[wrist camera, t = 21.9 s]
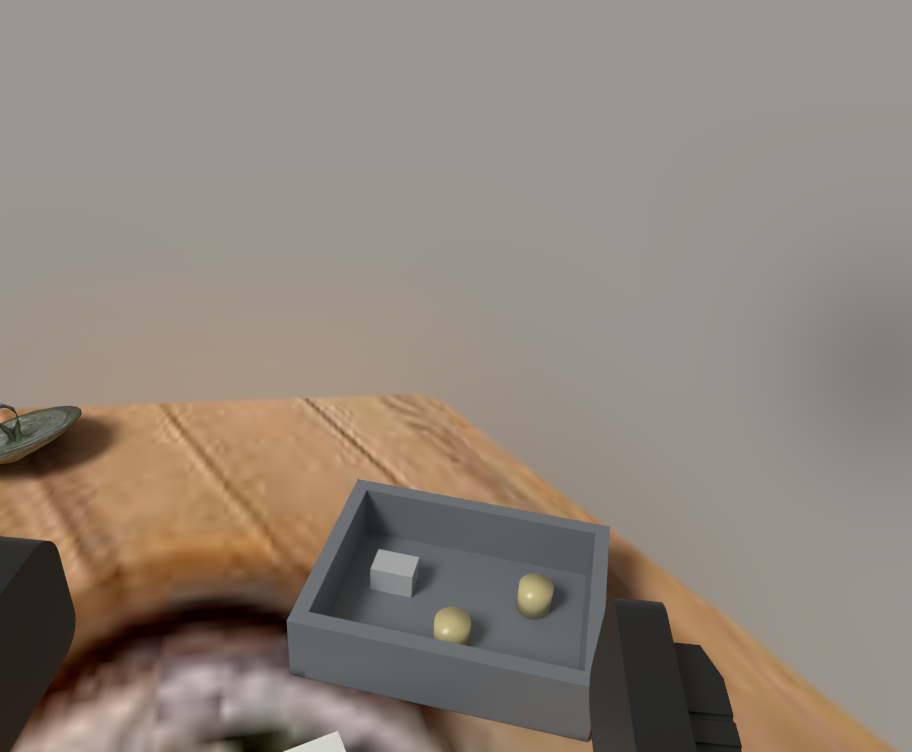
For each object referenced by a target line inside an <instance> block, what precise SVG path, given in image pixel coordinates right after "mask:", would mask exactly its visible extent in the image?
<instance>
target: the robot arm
mask: <svg viewBox="0 0 912 752" xmlns="http://www.w3.org/2000/svg"><path fill="white" fill-rule="evenodd" d="M75 620H76V619H75V611H74V607H73V603H72V599H71V596H70V592H69V588H68V585H67V581H66V577H65V574H64V570H63V566H62V563H61V559H60V555H59V552H58V549H57V547H56V545H55V544H54V543H53V542H51V541H44V540H34V539H23V538H13V537H3V536H0V752H10V750H11V748H12V747H13V745H14V743H15V741H16V740H17V738H18V736H19V735H20V733H21V731H22V730H23V728H24V726H25V725H26V723H27V721H28V720H29V718H30V716H31V715H32V713H33V711H34V709H35V708H36V706H37V704H38V703H39V701H40V699H41V698H42V696H43V694H44V693H45V691H46V689H47V688H48V686H49V684H50V683H51V681H52V679H53V678H54V676H55V674H56V672H57V671H58V669H59V667H60V666H61V664H62V662H63V661H64V659H65V657H66V655H67V653H68V651H69V649H70V646H71V643H72V640H73V636H74V631H75ZM589 711H590V722H591V733H592V744H593V752H741V747H742V745H741V742H740V738H739V734H738V730H737V727H736V723H734V722H733V712H732V708H731V705H730V701H729V697H728V693H727V690H726V686H725V682H724V679H723V677H722V676H721V674H720V673H719V671H718V670H717V669H716V667H715V666H714V664H713V663H712V662H711V660H710V659H709V657H708V656H707V654H706V653H705V652H704V650H703V649H702V647H701V646H700V645H693V644H683V643H673V638H672V634H671V629H670V624H669V620H668V615H667V611H666V608H665V606H664V604H663V603H662V602H653V601H643V600H632V599H622V598H612V597H610V598H609V600H608V602H607V605H606V608H605V612H604V617H603V621H602V625H601V629H600V633H599V637H598V641H597V645H596V649H595V653H594V658H593V662H592V666H591V672H590V683H589Z"/></svg>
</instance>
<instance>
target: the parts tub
mask: <svg viewBox="0 0 912 752" xmlns="http://www.w3.org/2000/svg"><path fill="white" fill-rule="evenodd" d="M609 531H610V527H608V526H603V525H598V524H592V523H587V522H582V521H577V520H571V519H566V518H561V517H555V516H550V515H545V514H540V513H534V512H529V511H524V510H518V509H513V508H508V507H502V506H497V505H492V504H487V503H481V502H476V501H471V500H465V499H460V498H455V497H449V496H444V495H439V494H434V493H428V492H423V491H418V490H412V489H407V488H402V487H397V486H391V485H386V484H381V483H375V482H370V481H365V480H359V479H358V480H357V482H356V484H355V486H354V488H353V490H352V492H351V494H350V496H349V498H348V500H347V502H346V504H345V506H344V508H343V510H342V512H341V514H340V516H339V518H338V520H337V522H336V524H335V526H334V528H333V530H332V532H331V534H330V536H329V538H328V540H327V542H326V544H325V546H324V548H323V550H322V552H321V554H320V556H319V558H318V560H317V562H316V564H315V566H314V568H313V570H312V572H311V574H310V576H309V578H308V580H307V582H306V584H305V586H304V588H303V590H302V592H301V594H300V596H299V598H298V600H297V602H296V604H295V606H294V608H293V610H292V612H291V614H290V616H289V618H288V620H287V630H288V645H289V660H290V674H291V675H295V676H300V677H304V678H309V679H313V680H317V681H322V682H326V683H331V684H335V685H339V686H344V687H348V688H352V689H357V690H361V691H366V692H370V693H374V694H379V695H383V696H388V697H392V698H396V699H401V700H405V701H410V702H414V703H418V704H423V705H427V706H432V707H436V708H440V709H445V710H449V711H454V712H458V713H462V714H467V715H471V716H476V717H480V718H484V719H489V720H493V721H498V722H502V723H506V724H511V725H515V726H519V727H524V728H528V729H533V730H537V731H541V732H546V733H550V734H555V735H559V736H563V737H568V738H572V739H577V740H581V741H585V742H588V738H589V734H590V730H591V722H590V711H589V683H590V672H591V666H592V662H593V658H594V653H595V649H596V645H597V641H598V637H599V633H600V629H601V625H602V621H603V617H604V612H605V606H606V588H607V569H608V550H609Z"/></svg>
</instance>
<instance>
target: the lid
mask: <svg viewBox="0 0 912 752" xmlns="http://www.w3.org/2000/svg"><path fill="white" fill-rule="evenodd" d="M0 408H8V409H10V410H12V411H13V412H14V413H16V412H15V409H14V408H13V407H11V406H8V405H4V404H0ZM81 414H82V413H81V409H80V408H78V407H74V406H60V407H53V408H48V409H44V410H38V411H33V412H30V413H27V414H24V415H21V416H17V414H16V417H15V418H13V419H11V420H8V421H5V422H3V423H0V464H6V463H12V462H15V461H18V460H19V459H21V458H23V457H25V456H27V455H28V454H30V453H32V452H34V451H36V450H37V449H39V448H41V447H43V446H44V445H46V444H48V443H49V442H51V441H52V440H54V439H56V438H57V437H58V436H60V435H61V434H62V433H63V432H65V431H66V430H67V429H68V428H69V427H70V426H72V425H73V424H74V423H75V422H76V421H77V420H78V418H79V417H80V416H81Z"/></svg>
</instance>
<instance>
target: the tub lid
mask: <svg viewBox="0 0 912 752" xmlns="http://www.w3.org/2000/svg"><path fill="white" fill-rule="evenodd" d="M284 752H346V751H345V748H344V746H343V743H342V741H341V738H340V735H339V733H338V731H336V732H334V733H331V734H328V735H326V736H323V737H321V738H318V739H315V740H313V741H310V742H308V743H305V744H303V745H300V746H297V747H295V748H292V749H290V750H287V751H284Z"/></svg>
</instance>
